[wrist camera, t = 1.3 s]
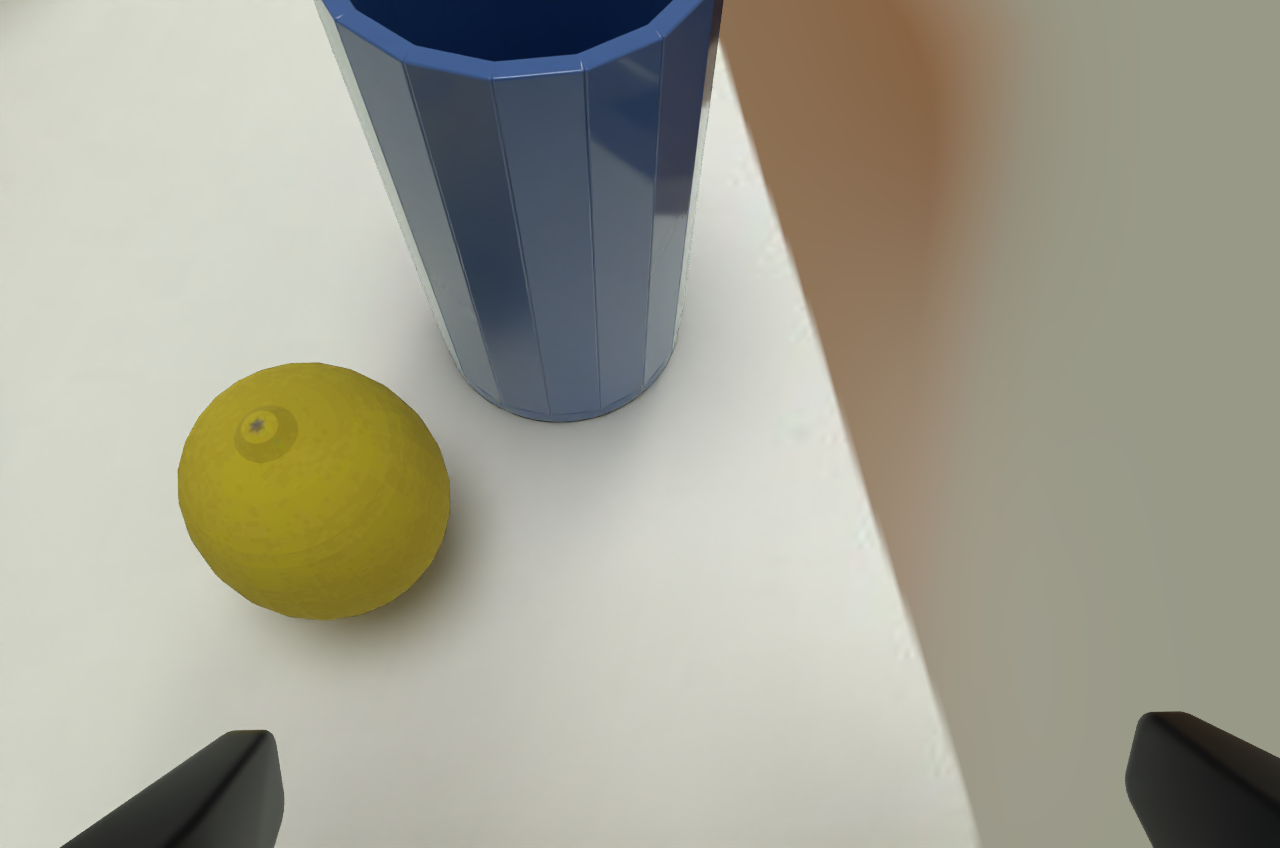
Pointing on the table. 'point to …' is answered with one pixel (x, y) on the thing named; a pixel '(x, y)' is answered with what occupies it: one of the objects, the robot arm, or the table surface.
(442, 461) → the lemon
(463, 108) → the blue cup
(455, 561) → the table surface
